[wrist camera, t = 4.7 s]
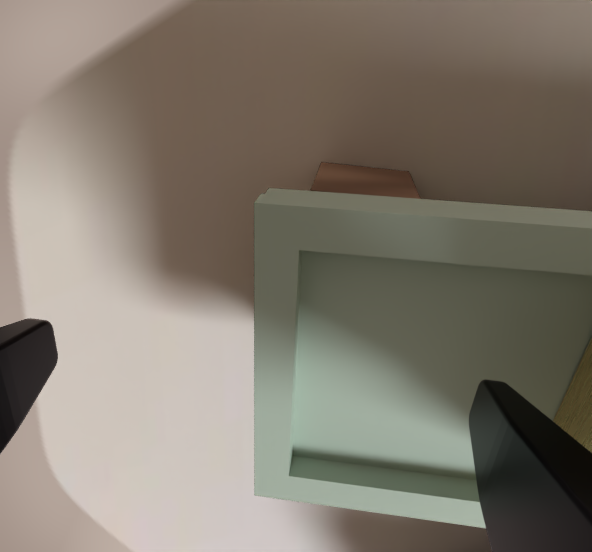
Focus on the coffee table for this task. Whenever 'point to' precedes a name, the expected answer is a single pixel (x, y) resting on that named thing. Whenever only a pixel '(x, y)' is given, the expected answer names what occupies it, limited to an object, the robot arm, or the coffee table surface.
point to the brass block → (578, 403)
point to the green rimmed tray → (404, 340)
